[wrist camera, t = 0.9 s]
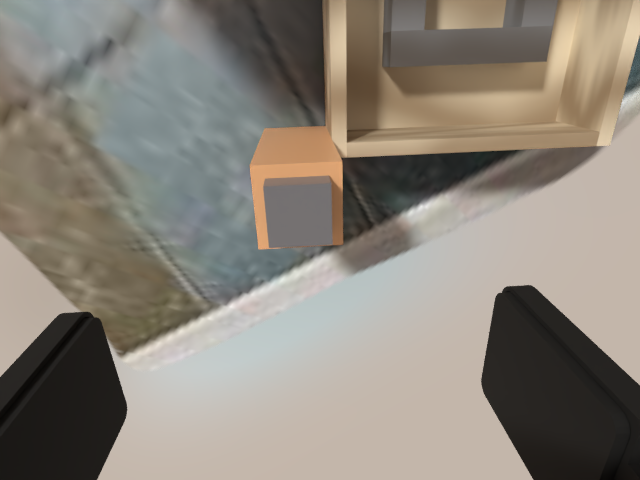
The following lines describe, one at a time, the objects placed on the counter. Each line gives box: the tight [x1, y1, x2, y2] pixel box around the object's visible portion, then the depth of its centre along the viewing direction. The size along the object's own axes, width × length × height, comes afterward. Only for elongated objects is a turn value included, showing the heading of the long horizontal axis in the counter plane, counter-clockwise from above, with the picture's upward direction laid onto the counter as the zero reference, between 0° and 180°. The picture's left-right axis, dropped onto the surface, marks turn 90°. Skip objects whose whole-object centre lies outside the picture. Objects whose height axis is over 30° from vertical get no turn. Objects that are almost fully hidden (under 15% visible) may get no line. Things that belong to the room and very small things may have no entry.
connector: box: [250, 126, 343, 249], centre depth 22 cm, size 4×4×11 cm
